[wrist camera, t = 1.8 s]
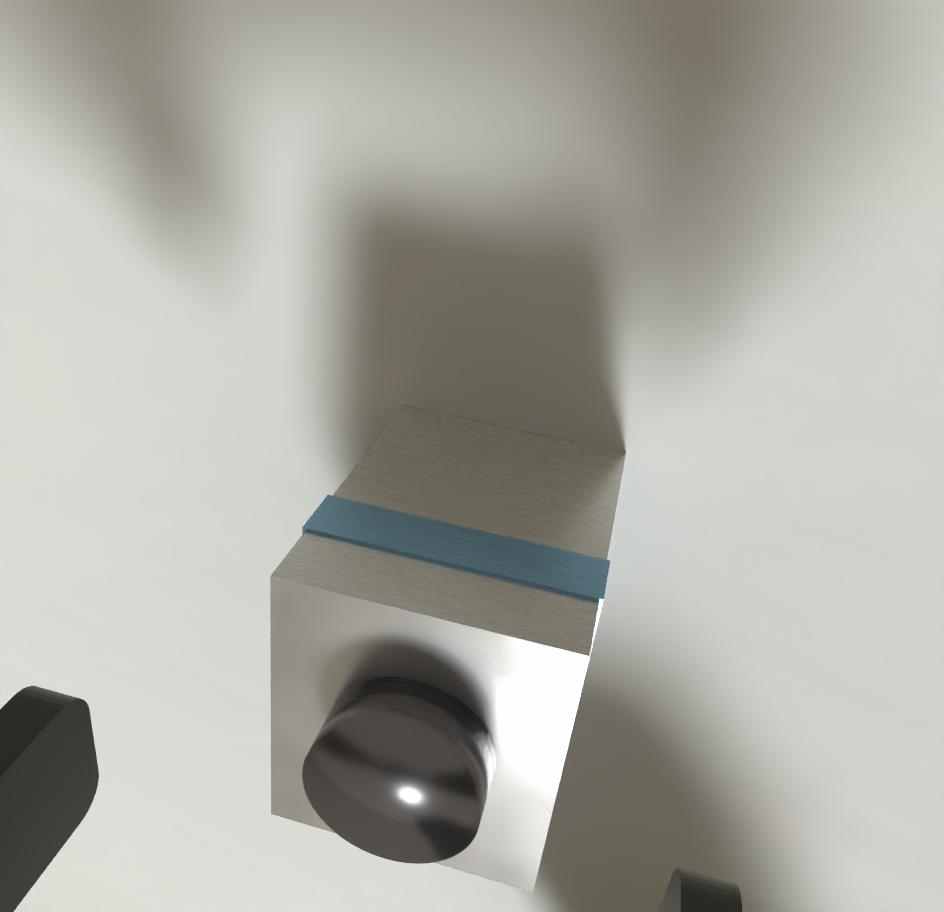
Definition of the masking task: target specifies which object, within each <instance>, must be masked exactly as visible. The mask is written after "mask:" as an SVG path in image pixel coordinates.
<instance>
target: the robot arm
mask: <svg viewBox="0 0 944 912" xmlns="http://www.w3.org/2000/svg"><path fill="white" fill-rule="evenodd" d="M98 778H99V772H98V765H97V758H96V751H95V745H94V738H93V731H92V725H91V718H90V711H89V707H88V704H87V703H86V702H85V701H84V700H82V699H79V698H76V697H72V696H69V695H65V694H61V693H58V692H54V691H51V690H47V689H44V688H40V687H36V686H29V687H26V688H24V689H22V690H21V691H19V692H18V693H17V694H16V695H14V696H13V697H12V698H11V699H10V700H9V701H8V702H7V703H6V704H5V705H4V706H3V707H2V708H1V709H0V912H13V911H14V910H15V909H16V908H17V906H18V905H19V904H20V902H21V901H22V900H23V898H24V897H25V896H26V894H27V893H28V892H29V890H30V889H31V888H32V886H33V885H34V884H35V882H36V881H37V880H38V878H39V877H40V876H41V874H42V873H43V872H44V870H45V869H46V868H47V866H48V865H49V864H50V862H51V861H52V860H53V858H54V857H55V856H56V854H57V853H58V852H59V850H60V849H61V848H62V847H63V845H64V844H65V843H66V841H67V840H68V839H69V837H70V836H71V835H72V833H73V832H74V831H75V829H76V828H77V827H78V825H79V824H80V823H81V821H82V820H83V818H84V817H85V815H86V813H87V812H88V810H89V808H90V806H91V804H92V801H93V799H94V796H95V793H96V789H97V785H98ZM659 912H742V902H741V895H740V891H739V888H738V886H737V885H734V884H731V883H727V882H723V881H720V880H716V879H713V878H709V877H706V876H702V875H698V874H695V873H691V872H688V871H684V870H681V869H676V870H675V871H674V873H673V875H672V877H671V880H670V883H669V885H668V888H667V891H666V893H665V896H664V899H663V901H662V904H661V907H660V909H659Z"/></svg>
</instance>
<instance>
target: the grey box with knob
mask: <svg viewBox="0 0 944 912" xmlns="http://www.w3.org/2000/svg"><path fill="white" fill-rule="evenodd" d="M625 455H626V453H624V452H620V451H615V450H610V449H606V448H601V447H596V446H592V445H587V444H582V443H577V442H573V441H568V440H563V439H559V438H554V437H549V436H545V435H540V434H535V433H531V432H526V431H521V430H516V429H512V428H507V427H502V426H498V425H493V424H488V423H484V422H479V421H474V420H469V419H465V418H460V417H455V416H451V415H446V414H441V413H437V412H432V411H427V410H423V409H418V408H413V407H408V406H404V405H402V407H401V408H400V409H399V411H398V412H397V413H396V414H395V416H394V417H393V418H392V420H391V421H390V422H389V423H388V425H387V426H386V427H385V429H384V430H383V431H382V433H381V434H380V435H379V436H378V438H377V439H376V440H375V442H374V443H373V444H372V445H371V447H370V448H369V449H368V451H367V452H366V453H365V455H364V456H363V457H362V458H361V460H360V461H359V462H358V464H357V465H356V466H355V467H354V469H353V470H352V471H351V473H350V474H349V475H348V477H347V478H346V479H345V480H344V482H343V483H342V484H341V486H340V487H339V488H338V489H337V491H336V492H335V493H334V495H333V496H331V495H327V497H326V498H325V499H324V501H323V502H322V503H321V504H320V506H319V507H318V508H317V509H316V511H315V512H314V513H313V515H312V516H311V517H310V518H309V520H308V521H307V522H306V524H305V525H304V526H303V531H302V536H301V537H300V539H299V540H298V541H297V542H296V544H295V545H294V546H293V548H292V549H291V550H290V552H289V553H288V554H287V555H286V557H285V558H284V559H283V561H282V562H281V563H280V564H279V566H278V567H277V568H276V570H275V571H274V572H273V574H272V575H271V814H273V815H277V816H280V817H284V818H287V819H290V820H294V821H297V822H300V823H304V824H307V825H310V826H314V827H317V828H320V829H324V830H327V831H330V832H334V833H337V834H338V835H339V836H341V837H342V838H343V839H345V840H346V841H348V842H349V843H351V844H353V845H355V846H356V847H358V848H360V849H362V850H364V851H366V852H369V853H371V854H373V855H376V856H379V857H382V858H385V859H389V860H393V861H399V862H405V863H432V862H434V863H437V864H441V865H444V866H447V867H451V868H454V869H457V870H461V871H464V872H467V873H471V874H474V875H477V876H481V877H484V878H488V879H491V880H494V881H498V882H501V883H504V884H508V885H511V886H514V887H518V888H521V889H524V890H528V891H531V892H533V890H534V886H535V882H536V878H537V874H538V870H539V865H540V861H541V857H542V853H543V849H544V845H545V840H546V836H547V832H548V829H549V825H550V820H551V816H552V812H553V808H554V804H555V800H556V795H557V791H558V787H559V783H560V779H561V775H562V770H563V766H564V762H565V758H566V754H567V750H568V745H569V741H570V737H571V733H572V729H573V725H574V720H575V716H576V712H577V708H578V704H579V700H580V695H581V691H582V687H583V683H584V679H585V675H586V671H587V666H588V662H589V658H590V654H591V650H592V646H593V641H594V637H595V633H596V629H597V625H598V621H599V616H600V612H601V608H602V604H603V600H604V594H605V588H606V582H607V576H608V570H609V565H610V561H609V560H607V556H608V550H609V545H610V539H611V533H612V528H613V522H614V517H615V511H616V505H617V500H618V494H619V488H620V483H621V477H622V472H623V466H624V460H625Z"/></svg>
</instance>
